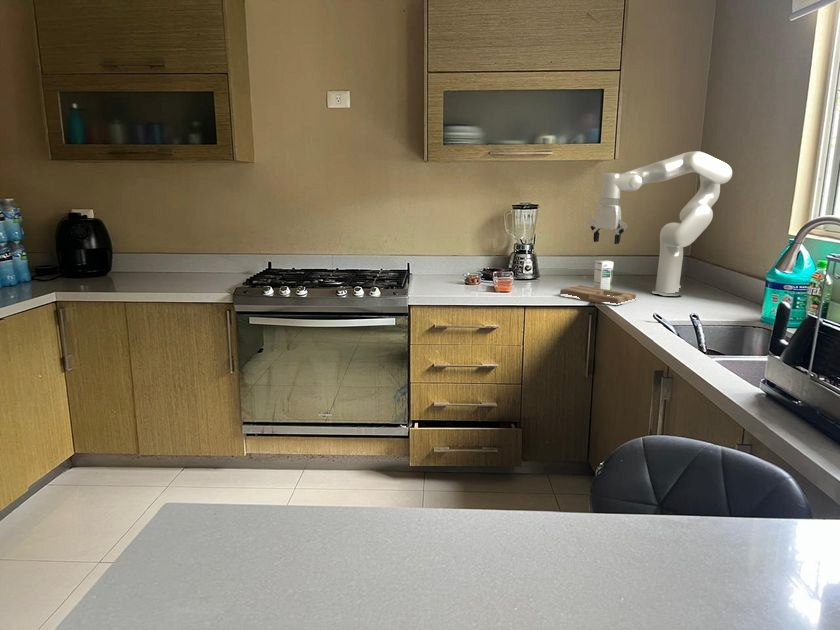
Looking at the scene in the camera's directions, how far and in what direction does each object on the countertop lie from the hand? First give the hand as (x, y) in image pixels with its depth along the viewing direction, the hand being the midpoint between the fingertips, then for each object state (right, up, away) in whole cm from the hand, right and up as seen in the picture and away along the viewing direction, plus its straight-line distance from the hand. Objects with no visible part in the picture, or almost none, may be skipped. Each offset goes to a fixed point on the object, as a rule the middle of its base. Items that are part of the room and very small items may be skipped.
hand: (606, 242), depth 266 cm
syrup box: (0, -22, +5) cm, 23 cm away
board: (-6, -24, -7) cm, 26 cm away
